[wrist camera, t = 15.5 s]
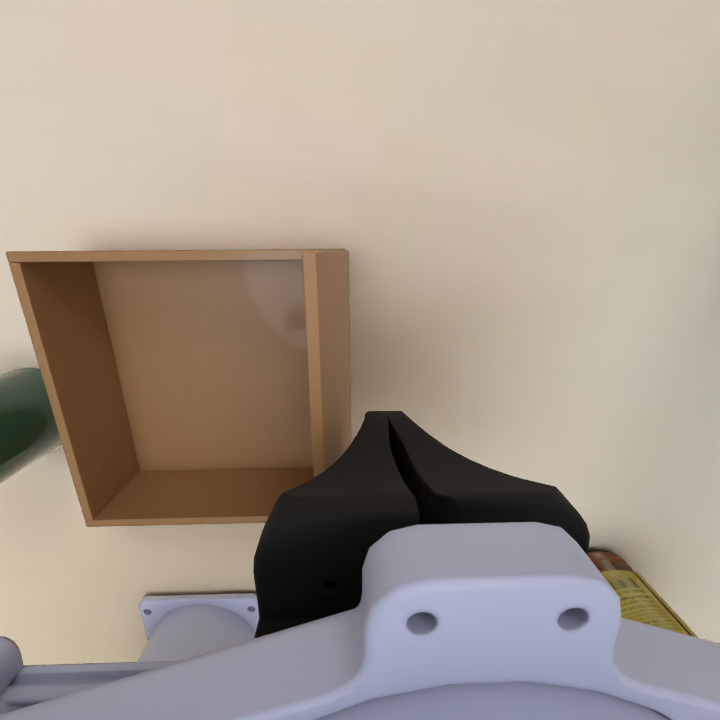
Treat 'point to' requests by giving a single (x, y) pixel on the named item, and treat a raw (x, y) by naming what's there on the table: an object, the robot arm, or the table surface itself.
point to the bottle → (24, 421)
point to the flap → (328, 353)
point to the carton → (173, 378)
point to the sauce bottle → (637, 594)
